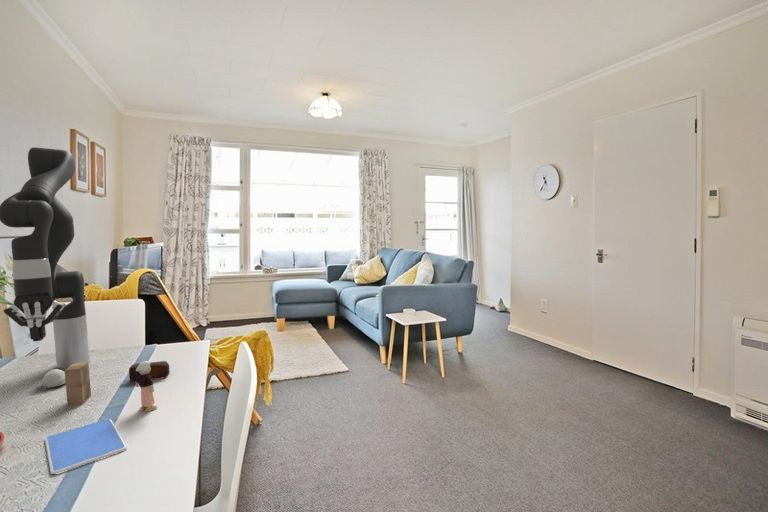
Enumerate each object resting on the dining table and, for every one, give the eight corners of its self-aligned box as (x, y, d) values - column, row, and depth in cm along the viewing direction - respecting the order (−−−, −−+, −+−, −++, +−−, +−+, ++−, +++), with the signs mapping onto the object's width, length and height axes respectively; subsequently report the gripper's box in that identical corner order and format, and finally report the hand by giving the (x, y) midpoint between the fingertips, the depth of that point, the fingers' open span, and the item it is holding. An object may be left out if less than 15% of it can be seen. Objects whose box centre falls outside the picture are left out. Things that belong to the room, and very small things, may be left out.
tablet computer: (44, 441, 89) (44, 436, 89) (111, 421, 97) (110, 416, 97) (51, 479, 75) (50, 473, 75) (128, 452, 84) (127, 446, 83)
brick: (129, 382, 121) (128, 368, 121) (132, 378, 125) (131, 364, 125) (167, 377, 125) (166, 363, 125) (170, 373, 129) (169, 359, 128)
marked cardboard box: (76, 397, 111) (73, 363, 110) (91, 395, 112) (88, 361, 111) (67, 406, 105) (64, 370, 105) (83, 404, 107) (80, 368, 106)
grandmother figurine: (164, 406, 104) (161, 360, 103) (151, 413, 100) (148, 365, 99) (143, 403, 106) (139, 357, 105) (129, 409, 103) (126, 362, 102)
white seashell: (33, 387, 120) (32, 371, 119) (64, 378, 127) (63, 363, 126) (48, 392, 116) (46, 375, 115) (79, 382, 123) (77, 366, 123)
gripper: (68, 273, 109) (73, 334, 111) (8, 276, 105) (14, 339, 106) (56, 275, 102) (62, 340, 103) (-8, 279, 98) (-2, 347, 99)
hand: (38, 340), depth 105 cm, fingers closed
